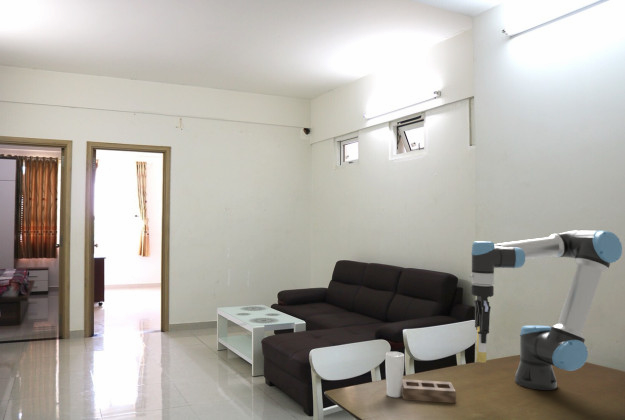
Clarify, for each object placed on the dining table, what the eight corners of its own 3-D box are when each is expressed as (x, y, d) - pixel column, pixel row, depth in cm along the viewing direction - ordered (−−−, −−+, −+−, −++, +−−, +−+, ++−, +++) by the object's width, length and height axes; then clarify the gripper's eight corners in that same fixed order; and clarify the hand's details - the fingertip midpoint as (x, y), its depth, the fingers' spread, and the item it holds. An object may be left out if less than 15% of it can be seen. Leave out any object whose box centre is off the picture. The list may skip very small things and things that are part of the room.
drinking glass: (404, 393, 179) (405, 352, 179) (401, 400, 173) (402, 357, 173) (386, 391, 181) (387, 350, 182) (382, 397, 175) (383, 355, 175)
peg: (484, 360, 175) (485, 326, 176) (487, 362, 172) (487, 328, 172) (475, 359, 175) (476, 326, 176) (478, 362, 172) (478, 328, 172)
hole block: (450, 392, 181) (450, 382, 181) (455, 402, 171) (455, 391, 171) (401, 389, 183) (401, 379, 183) (403, 399, 173) (403, 388, 173)
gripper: (467, 281, 182) (466, 344, 182) (476, 287, 167) (475, 356, 166) (487, 282, 182) (486, 345, 181) (499, 288, 166) (498, 357, 166)
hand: (481, 350), depth 174 cm, fingers closed on peg, 3 cm apart
